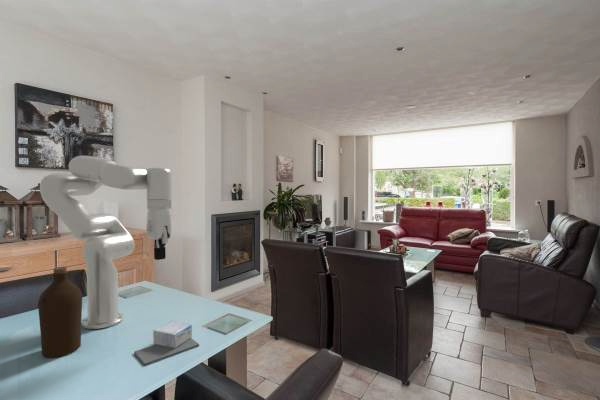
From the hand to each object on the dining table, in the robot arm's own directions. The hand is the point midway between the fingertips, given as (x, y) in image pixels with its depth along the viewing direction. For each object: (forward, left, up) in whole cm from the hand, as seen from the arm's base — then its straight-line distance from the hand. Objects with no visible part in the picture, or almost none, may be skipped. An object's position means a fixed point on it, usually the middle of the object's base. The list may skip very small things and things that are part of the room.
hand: (159, 258), depth 108 cm
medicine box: (+6, -2, -22) cm, 23 cm away
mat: (+13, -3, -25) cm, 29 cm away
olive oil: (-8, -26, -25) cm, 37 cm away
